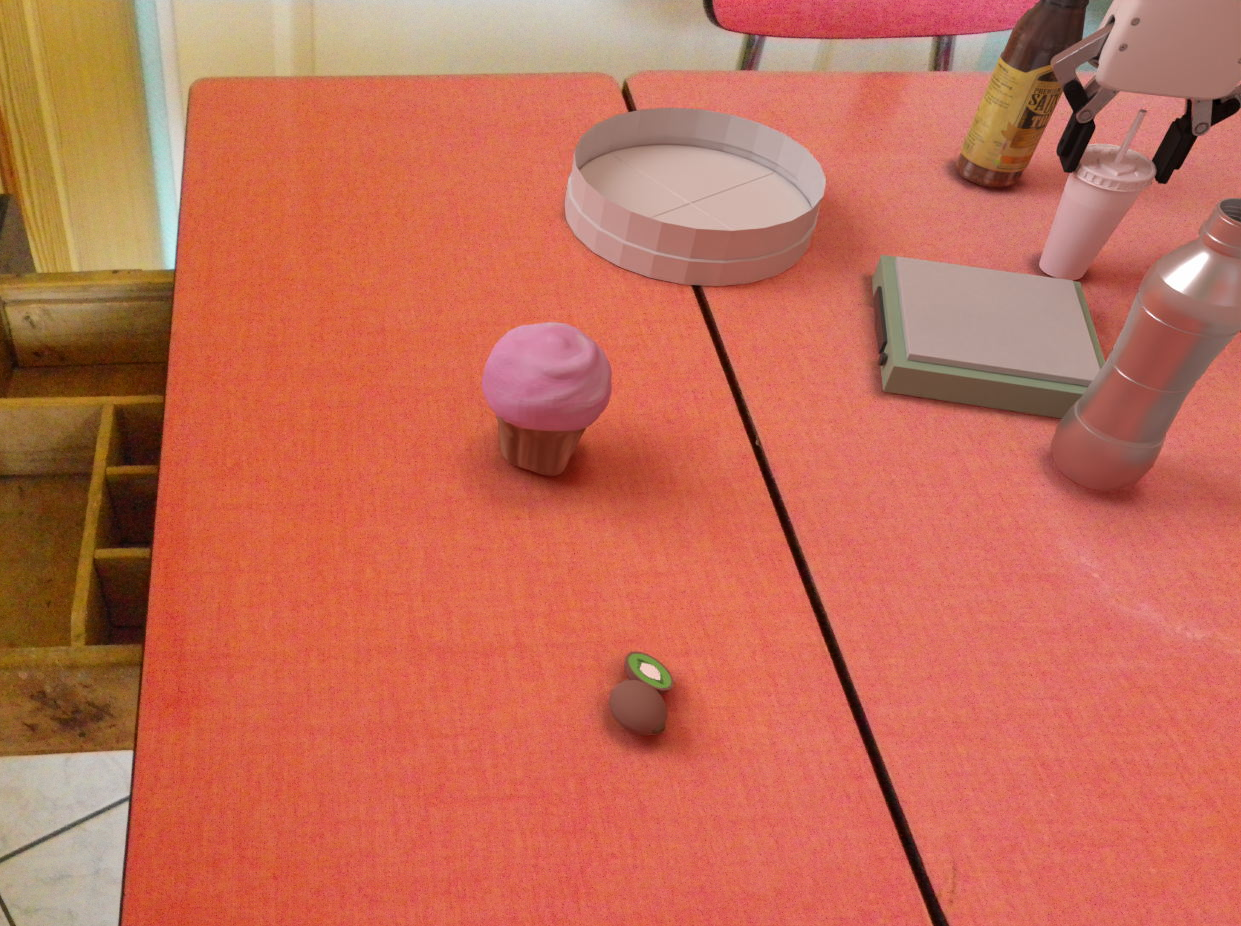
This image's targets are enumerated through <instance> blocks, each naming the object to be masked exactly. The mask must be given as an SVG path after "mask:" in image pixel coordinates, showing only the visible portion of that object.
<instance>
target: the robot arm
mask: <svg viewBox="0 0 1241 926" xmlns="http://www.w3.org/2000/svg"><path fill="white" fill-rule="evenodd" d="M1087 62H1088V64H1089V65H1090V66H1091V67H1094V68H1096V72H1095V74H1094V76H1092V78H1090V80H1089V81H1088V82H1086V84H1085V85H1084V86H1083V84H1082V82H1081V80H1080V79H1079V77H1078V76H1079V75H1078V74H1077V70H1078V68H1079V67H1080V66H1082V65H1083V64H1085V63H1087ZM1051 66H1052V69H1053V72H1054V74H1055V76H1056V78H1057V80H1058V82H1059V84H1060V86H1061V88H1062V90H1063V95H1064V98H1065V99H1066V101H1067V103H1068V105H1069V106H1070V108H1071V110H1072V113H1071V115H1070V117H1069V119H1068V121H1067V124H1066V126H1065V128H1064V130H1063V132H1062V134H1061V137H1060V139H1059V141H1058V143H1057V145H1056V151H1055V152H1056V156H1057V157H1058V158H1059V161H1060V164H1061V168H1062V171H1063V173H1067V174H1069V173H1072V172H1074V171H1075V170H1076V168H1077V166H1078V164H1079V162H1080V160H1081V158H1082V156H1083V154H1084V152H1085V150H1086V147H1087V145H1088V144H1090V142H1091V140H1092V138H1093V135H1094V133H1095V132H1096V127H1097V126H1096V123H1095V118H1096V116H1097V115H1098V114H1099V113H1100V112H1101V111H1102V110H1103V109H1104V108H1105V107H1106V106H1107V105H1108V104H1109V103H1110V102H1111V101H1112V100H1113V99H1114V98H1115V97H1116V96H1117V95H1119V93H1120V92H1122V93H1131V94H1141V95H1148V96H1156V97H1167V98H1175V99H1176V98H1177V99H1184V111H1183V113H1184V114H1182V115H1181V117H1176V118H1175V120H1172V121H1171V122H1170V125H1169V127H1168V129H1167V131H1166V133H1165V135H1164V136H1163V139H1162V140H1161V142H1160V144H1159V145H1158V147H1157V150H1156V151H1155V153H1154V155H1153V157H1152V160H1151V161H1152V162H1153V163H1154V164H1155V166H1156V168H1157V173H1156V175H1155V177H1154V180H1155V182H1157V184H1159V185H1160V184H1161V185H1167V184H1168V183H1169V181H1170V179H1171V177H1172V175H1173V173H1174V172H1175V171H1179V170H1180V169H1181V168H1182V166H1183V164H1184V163H1185V160H1186V159H1187V157H1188V156H1189V154H1190V151H1191V150H1192V148H1193V146H1194V144H1195V143H1196V141H1197V139H1198V138H1199V137H1202V136H1204V135H1206V134H1207V133H1208V132H1209V131H1210V130H1211V127H1213V126H1215V125H1217V124H1219V123H1221V122H1223V121H1225V120H1227V119H1229V118H1230V117H1232V116H1234V115H1236V114H1237V113H1238V112H1239V111H1240V109H1241V83H1240V82H1241V0H1112V2H1111V4H1110V6H1109V8H1108V9H1107V11H1106V13H1105V15H1104V17H1103V18H1102V20H1101V22H1100V24H1099V27H1098V28H1097V31H1095V32H1093V33H1091V34H1089V35H1088V36H1086V37H1083V39H1082V40H1081V41H1079V42H1078V43H1076V44H1074V45H1073V46H1071V47H1069V48H1067V49H1066V50H1064V51H1062V52H1061V53H1059V54H1057V55H1055V56H1054V57H1053V58H1052V60H1051Z"/></svg>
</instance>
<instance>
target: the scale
mask: <svg viewBox="0 0 1241 926" xmlns="http://www.w3.org/2000/svg"><path fill="white" fill-rule="evenodd" d="M871 287H872V301H873V302H872V303H873V313H874V322H875V323H874V324H875V333H876V342H877V351H878V360H877V366H880V376H881V386H882V392H885V393H890V394H898V395H903V396H911V397H917V398H922V399H923V398H924V399H931V400H936V401H942V402H943V401H944V402H949V403H957V404H962V405H963V404H964V405H969V406H977V407H982V408H989V409H996V410H1001V411H1002V410H1003V411H1009V412H1016V413H1022V414H1028V415H1035V416H1043V417H1049V418H1054V419H1055V418H1056V419H1060V420H1061V419H1062V418H1063V417H1064V415H1065V414H1066V413H1067V412H1068V410H1069V409H1070V408H1071V407H1072V406H1073V405H1074V404H1075V403H1076V401H1077V400H1079V399H1080V398H1081V397H1082V395H1083V394H1084V392H1085V391H1086V390H1087V388H1088V387H1089V385H1090V384H1091V382H1092V381H1093V380H1094V378H1095V377H1096V375H1097V374H1098V373H1099V371H1100V370H1101V368H1102V367H1103V365H1104V364H1105V362H1106V359H1105V357H1104V353H1103V350H1102V347H1101V344H1100V340H1099V338H1098V333H1097V331H1096V328H1095V324H1094V321H1093V318H1092V315H1091V312H1090V308H1089V305H1088V302H1087V299H1086V297H1085V296H1086V295H1085V292H1084V290H1083V289H1084V288H1083V286H1082V283H1081V281H1076V280H1066V279H1059V278H1055V277H1052V276H1045V275H1036V274H1030V273H1029V274H1028V273H1021V272H1014V271H1007V270H1000V269H993V268H986V267H979V266H978V267H977V266H972V265H971V266H970V265H963V264H957V263H950V262H942V261H936V260H927V259H921V258H913V257H907V256H899V255H897V256H894V255H887V254H880V256H879V260H878V262H877V265H876V267H875V269H874V272H873V275H872V277H871Z"/></svg>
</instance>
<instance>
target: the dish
mask: <svg viewBox="0 0 1241 926" xmlns="http://www.w3.org/2000/svg"><path fill="white" fill-rule="evenodd" d="M826 184H827V178H826V176H825V173H824V170H823V168H822V165H821V163H820V162H819V161H818V159H816V157H815V156H814V155H813V154H812V153H811V152H810V151H809V150H808V149H807V148H806V147H805V146H803V145H802V144H801V143H799V142H798V141H796V140H795V139H793V138H791V137H790V136H789V135H788V134H786V133H783V132H781V131H779V130H777V129H775V128H772V127H770V126H768V125H766V124H764V123H762V122H758V121H755V120H752V119H748V118H745V117H742V116H737V115H735V114H731V113H726V112H720V111H715V110H709V109H702V108H685V107H671V106H670V107H655V108H642V109H637V110H633V111H628V112H623V113H618V114H616V115H613V116H611V117H608V118H606V119H603V120H601V121H599V122H596V123H595V124H594V125H593V126H591V127H590V128H589V129H588V130H587V131H585V132H584V133H583V134H582V135H581V136H580V139H579V140H578V142H577V144H576V146H575V148H574V152H573V160H572V168H571V172H570V174H569V176H568V178H567V184H566V190H565V197H564V213H565V221H566V222H567V224H568V226H569V227H570V229H571V231H572V232H573V235H574V236H575V238H576V239H578V240H579V241H580V242H581V243H582V244H584V245H585V246H586V247H587V248H588V249H589V250H590V251H591V252H592V253H594V254H596V255H598V256H599V257H601V258H602V259H604V260H606V261H608V262H610V263H612V264H613V265H615V266H617V267H619V268H622V269H624V270H626V271H630V272H633V273H636V274H638V275H641V276H644V277H646V278H649V279H655V280H660V281H665V282H669V283H673V284H674V283H675V284H679V285H683V286H684V285H685V286H686V285H687V286H706V287H726V286H736V285H745V284H746V285H747V284H752V283H755V282H759V281H762V280H766V279H769V278H770V279H771V278H773V277H776V276H778V275H780V274H781V273H783V272H785V271H787V270H788V269H791V268H792V267H794V266H795V265H797V264H798V262H799V261H800V260H801V259H802V257H803V256H804V255H805V254H806V252H807V251H808V250H809V246H810V244H811V241H812V239H813V236H814V232H815V229H816V228H817V224H818V218H819V210H820V207H821V204H822V201H823V198H824V194H825V190H826Z"/></svg>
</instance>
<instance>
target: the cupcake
mask: <svg viewBox="0 0 1241 926" xmlns="http://www.w3.org/2000/svg"><path fill="white" fill-rule="evenodd" d="M612 374H613V372H612V366H611V362H610V360H609V359H608V358H607V354H606V353H605V351H604V350H603V348H601V346H600V345H599V344H598V343H597V342H596V341H595V340H593V339H592V338H591V337H590V336H589V335H587V333H585V332H583V331H582V330H581V329H579V328H577V327H575V326H573V325H570V324H568V323H564V322H559V321H558V322H557V321H548V322H540V323H534V324H533V323H532V324H523V325H519V326H517V327H514V328H512V329H510V330H508V331H506V333H505V334H503V336H502V337H501V338H499V340H498V341H497V342H496V343H495V345H494V347H493V348H492V349H491V352H490V354H489V356H488V358H487V360H486V362H485V364H484V370H483V372H482V378H481V383H480V385H481V392H482V394H483V397H484V399H485V401H486V403H487V405H488V406H489V408H490V409H491V410H492V412H493V413H494V414H495V419H496V421H497V430H498V432H497V433H498V439H499V446H500V451H501V455H502V457H503V458H504V459H505V461H507V463H509V464H510V465H512V466H514V467H518V468H521V469H524V470H527V471H530V472H533V473H536V474H540V475H543V476H548V477H554V476H557V475H561V474H562V473H563V472H564V471H565V469H566V468H567V465H568V463H569V461H570V460H571V458H572V457H573V455H574V452H575V450H576V448H577V445H579V442H580V440H581V438H582V437H583V435H584V433H585V432H586V430H587V428H588V427H591V426H592V425H593V424H594V423H595V422H596V420H598V419H599V417H600V416H601V415H602V414H603V412H604V411H605V410H606V409H607V407H608V405H609V403H610V400H611V396H612V392H613V390H612V389H613V385H612Z"/></svg>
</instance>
